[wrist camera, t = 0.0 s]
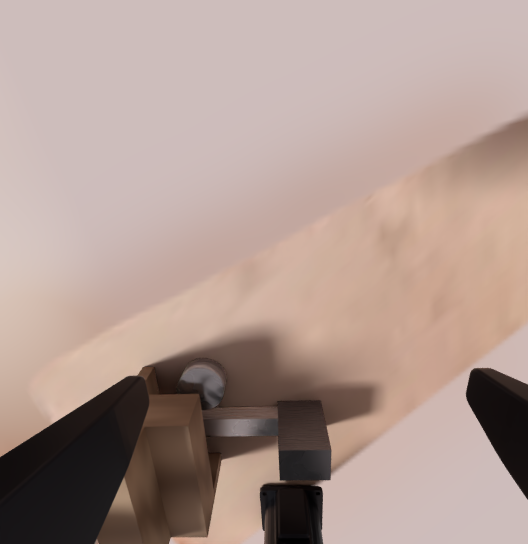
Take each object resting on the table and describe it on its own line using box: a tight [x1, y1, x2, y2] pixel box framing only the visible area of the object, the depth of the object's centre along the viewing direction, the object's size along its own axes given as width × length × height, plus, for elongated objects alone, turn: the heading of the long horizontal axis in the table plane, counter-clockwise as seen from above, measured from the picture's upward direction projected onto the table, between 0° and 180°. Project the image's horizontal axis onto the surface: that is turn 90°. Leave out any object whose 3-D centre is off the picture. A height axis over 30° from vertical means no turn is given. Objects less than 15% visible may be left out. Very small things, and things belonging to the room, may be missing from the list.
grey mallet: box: [202, 401, 331, 480], centre depth 24 cm, size 3×12×5 cm, turn 93°
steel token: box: [177, 358, 227, 410], centre depth 25 cm, size 4×4×2 cm
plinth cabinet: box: [97, 367, 221, 544], centre depth 23 cm, size 12×6×10 cm, turn 3°
